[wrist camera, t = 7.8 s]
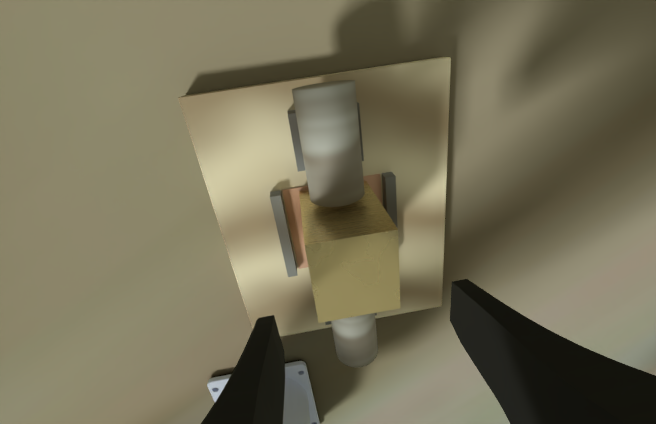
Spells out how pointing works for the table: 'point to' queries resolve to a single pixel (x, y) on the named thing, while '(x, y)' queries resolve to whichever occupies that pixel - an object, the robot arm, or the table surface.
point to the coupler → (351, 257)
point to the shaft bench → (269, 164)
